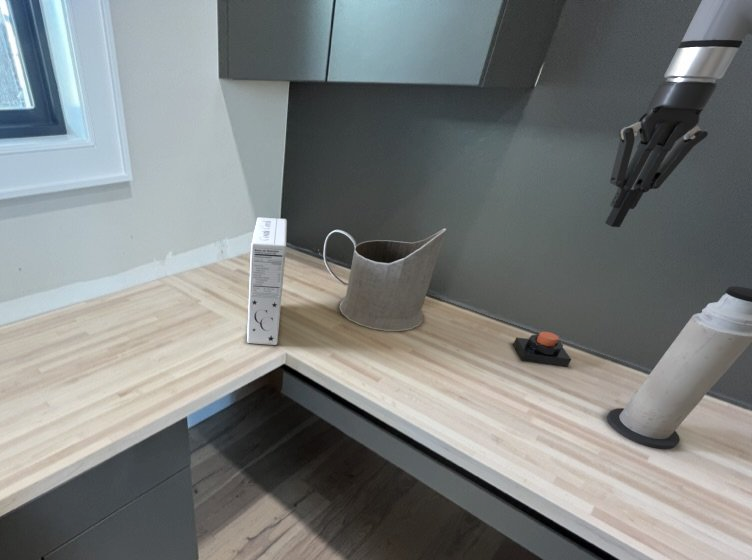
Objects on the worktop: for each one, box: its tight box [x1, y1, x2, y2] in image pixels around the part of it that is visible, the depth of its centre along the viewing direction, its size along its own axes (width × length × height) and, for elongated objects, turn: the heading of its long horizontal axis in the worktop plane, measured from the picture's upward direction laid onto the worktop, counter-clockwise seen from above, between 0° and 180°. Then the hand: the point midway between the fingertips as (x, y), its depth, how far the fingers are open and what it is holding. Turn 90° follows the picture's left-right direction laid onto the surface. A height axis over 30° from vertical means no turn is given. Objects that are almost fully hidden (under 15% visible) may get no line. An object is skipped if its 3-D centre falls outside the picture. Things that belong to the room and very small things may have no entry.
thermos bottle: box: [619, 285, 752, 439], centre depth 73 cm, size 8×8×28 cm
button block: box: [512, 333, 572, 368], centre depth 103 cm, size 10×8×4 cm
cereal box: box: [246, 217, 288, 346], centre depth 106 cm, size 22×8×25 cm, turn 174°
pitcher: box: [323, 228, 447, 332], centre depth 116 cm, size 23×32×25 cm
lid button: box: [536, 331, 560, 347], centre depth 101 cm, size 4×4×2 cm
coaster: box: [606, 407, 681, 450], centre depth 82 cm, size 11×11×1 cm
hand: (612, 225), depth 84 cm, fingers closed
